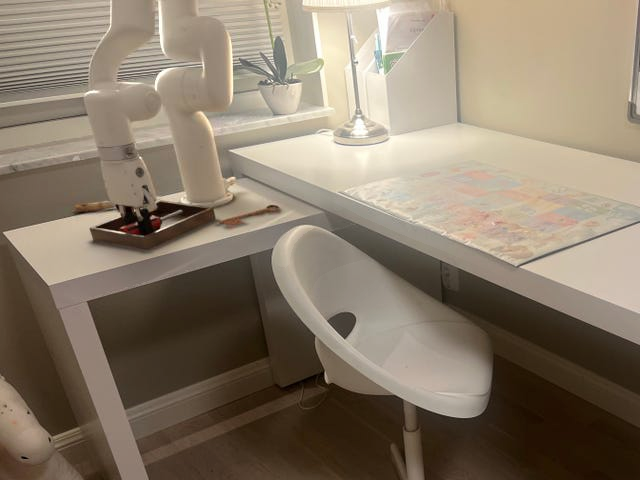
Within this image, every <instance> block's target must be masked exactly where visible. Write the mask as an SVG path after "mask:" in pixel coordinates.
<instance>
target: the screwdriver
mask: <svg viewBox="0 0 640 480" xmlns="http://www.w3.org/2000/svg"><path fill="white" fill-rule="evenodd" d="M181 213H183V211H182V210H179V211H177V212H174V213H172V214H169V215H167V216H164V217H162V218H159V217H156V216H152V217H150V219H151V222H152V226H153V230H154V231H157V230H159V229H160V227H161V225H162V221H164V220H167V219H169V218H172V217H174V216H176V215H179V214H181ZM118 231H119V232H125V233H130V234H136V235H140V231H139V227H138V224H137V221H136V222H133V223H131V224H128V225H126V226H124V227H121V228H119V230H118Z"/></svg>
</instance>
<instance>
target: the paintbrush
mask: <svg viewBox="0 0 640 480" xmlns="http://www.w3.org/2000/svg"><path fill="white" fill-rule="evenodd" d="M156 198H157V200H156V201H155V202H157V201H160V200H162V198H163V196H162V195H156ZM74 207H75V211H76V213H84V212H91V211H98V210H106V209H114V208H115V207H114V206H113V205H112V204H111V203H110V202H109V200H104V201H96V202H89V203H86V204H75V206H74Z"/></svg>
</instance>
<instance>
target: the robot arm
mask: <svg viewBox="0 0 640 480" xmlns="http://www.w3.org/2000/svg"><path fill="white" fill-rule="evenodd" d="M156 2H157V5H158V6H157V7H158V23H159V25H158V27H159V39H160V41H159V42H160V47H161V51H162V53H163V54H164V56H165V57H166V58H167V59H169V60H172V61H175V62H184V63H201V64H202V67H170V68H166V69H163V70H162V71H161V72H159V73H158V75H157V77H156V79H155V82H154V87H153V86H151V85H149V84H147V83H143V82H126V81H118V73H119V70H120V67H121V65H123V62H124V61H125V60H126V58H128V57H129V56H130V55H131V54H132V53H134V52H135V51H137V50H139V49H140V48H142V47H143V46H145V45H147V44H148V43H149V42H151V41H153V40H154V38H155V35H156ZM109 21H110V23H109V28H108V29H107V32H106V33H105V34H104V35H103V37H102V38H101V40H100V41H99V42H98V45H97V46H96V48H95V49H94V52H93V54H92V56H91V59H90V62H89V67H88V92H85V94H84V95H83V104H84V107H85V110H86V114H87V118H88V121H89V125H90V127H91V131H92V135H93V138H94V141H95V145H96V150H97V152H98V155H99V156H98V157H99V158H100V159H99V160H100V169H101V174H102V179H103V184H104V187H105V191H106V194H107V196H108V201H109V202H110V203H111V204H112V205H113V206H114V208H115V209H116V210H117V211H118V213H119V216H121V217H122V218H124V222H125V225H128V224H131V223H133V222H136V221H137V224H138V227H139V231H140V235H142V236H146V235H148V234H150V233H153V232H154V230H153V226H152V222H151V219H150V217H152V212H153V211H154V210H156V209H157V208H158V207H157V205H156V203H155V202H157V201H158V200H157V198H156V196H157V194H156V190H155V187H154V183H153V180H152V178H151V177H152V176H151V175H150V172H149V170H148V168H147V165H146V163H145V161H144V160H143V157H141V156H140V154H139V150H138V146H137V141H136V137H135V135H134V129H133V127H132V123H135V122H141V121H148V120H151V119H153V118H155V117H156V116H157V115H158V114H159V113H160V111H161V108H162V110H163V112H164V115H165V118H166V120H167V124H168V128H169V131H170V136H171V140H172V144H173V149H174V153H175V157H176V162H177V166H178V169H179V173H180V177H181V182H182V185H183V190H184V194H185V195H183V196H182V197H181V198H180V199H179V201H180V202H179V203H184V204H191V205H197V206H204V207H211V208H214V207H218V206H221V205H224V204H226V203H229V202H231V201H232V200H233V199H234V195H233V192H232V191H230V190H229V188H230V186H234V185H236V184H237V183H238V180H237V178H236V177H235V176H231V177H229V178H225V177H223V174H222V169H221V164H220V159H219V155H218V151H217V145H216V141H215V137H214V135H215V134H214V130H213V127H212V125H211V123H210V120H209V119H208V117H207V116H206V115H205V113H219V112H224V111H226V110H228V109H229V108H230V107H231V105H232V102H233V98H234V97H233V96H234V74H233V73H234V71H233V45H232V39H231V36H230V33H229V31H228V29H227V27H226V25H225V24H224V23H223V21H221V20H220V19H218V18H217V17H214V16H213V17H212V16H200V13H199V0H157V1H156V0H110V20H109ZM204 112H205V113H204ZM156 200H157V201H156ZM141 208H144V209H143V211H141ZM134 210H135V211H136V214H135V215H134ZM138 219H139V220H138Z"/></svg>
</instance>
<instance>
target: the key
mask: <svg viewBox="0 0 640 480" xmlns="http://www.w3.org/2000/svg"><path fill="white" fill-rule="evenodd" d="M272 208H274V209H272ZM279 211H281V207H280V206H278V205H276V204H270V205H267V206H266V207H265V208H262V209H258V210H255V211H251V212H248V213H243V214H240V215H237V216H233V217H229V218H225V219H222V220H219V221H218V223H219V224H220V225H221V224H224V225H226V226H227V227H234V226H238V225H241V224H245V222H244V221H243V220H242V219H244V218H249V217H251V216H256V215H260V214H263V213H266V212H267V213H268V212H269V213H276V212H279Z"/></svg>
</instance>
